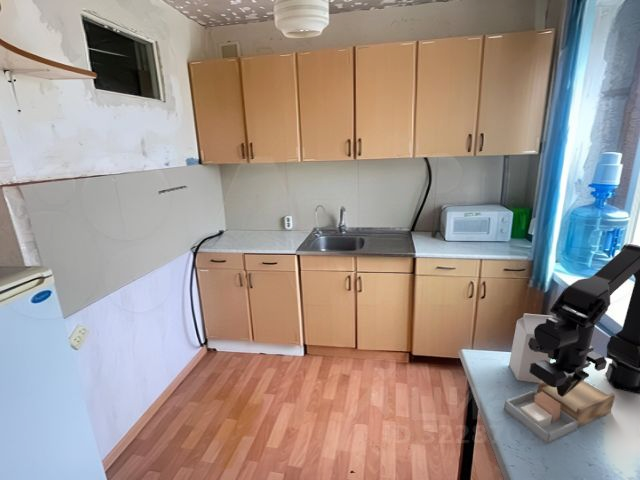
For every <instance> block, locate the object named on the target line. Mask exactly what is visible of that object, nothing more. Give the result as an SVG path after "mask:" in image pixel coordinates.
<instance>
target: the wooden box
mask: <svg viewBox="0 0 640 480" xmlns="http://www.w3.org/2000/svg"><path fill="white" fill-rule="evenodd" d="M541 391H542V392H544V393H545V394H547V395H548V396H550V397H551V398H552V399H554V400H555V401H557V402H558V403H560V404H561V405H560V409H561V410H563V411H564V412H565V413H567V414H568V415H570V416H571V417H573V418H574V419H575V420H577V421H578V422H579V423H578V426H577V428H579V427H581V426H584V425H585V424H589V423H591V422H592V421H594V420H597V419H598V418H601V417H603V416H605V415H608V414H610V413H612V407H613V404H614V401H615V398H616V394H615V393H609V394H607V393H605V392H603V391H602V390H600V389H598V388H596V387H595V386H593V385H591V384H590V383H589V382H586V381H585V380H583V381H582V382H580V383H579V384H578V385H577V386H576V387H574V388H573V389H572V390H571V391H570V392H569V393H567V394H566V395H565V396H563V397H561V396H560V395H558V392H557V387H551V386H549V385H548V384H546V383H545V382H543V381H540V382H539V383H537V389H536V392H537V393H540V392H541Z"/></svg>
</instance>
